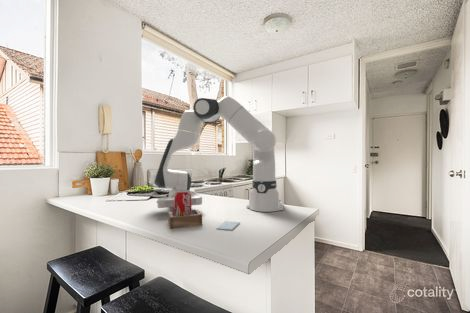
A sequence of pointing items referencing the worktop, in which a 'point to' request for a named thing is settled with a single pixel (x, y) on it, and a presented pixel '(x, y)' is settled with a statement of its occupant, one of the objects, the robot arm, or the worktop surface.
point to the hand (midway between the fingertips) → (181, 204)
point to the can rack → (185, 220)
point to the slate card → (228, 225)
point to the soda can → (182, 203)
